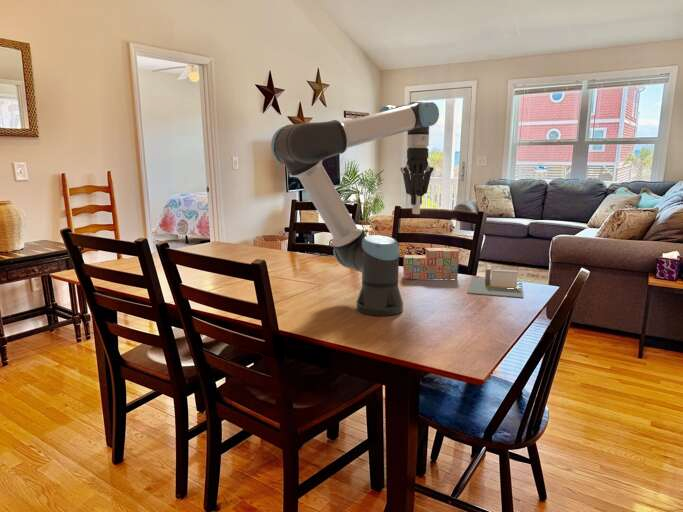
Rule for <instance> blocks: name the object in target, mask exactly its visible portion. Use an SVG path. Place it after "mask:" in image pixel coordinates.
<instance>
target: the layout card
mask: <svg viewBox="0 0 683 512" xmlns="http://www.w3.org/2000/svg"><path fill="white" fill-rule="evenodd" d="M517 282H521V283H519V284H517V285H522V286H519V287H522V288H518V289H517V288H516V287H503V286H491V278H490V286H485V278H480V279H478V277H477V278H476V277H471V279H470V282H469V286H468V289H467V292H466V293H467V294H469V295H470V294H471V295H479V294H481V295H484V296H491V295H496V296H495V297H503V296H508V297H507V298H515V297H520V298H519V299H524V295H523V283H522V281H518V280H517ZM507 288H514V289H507ZM481 295H480V296H481Z"/></svg>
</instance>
